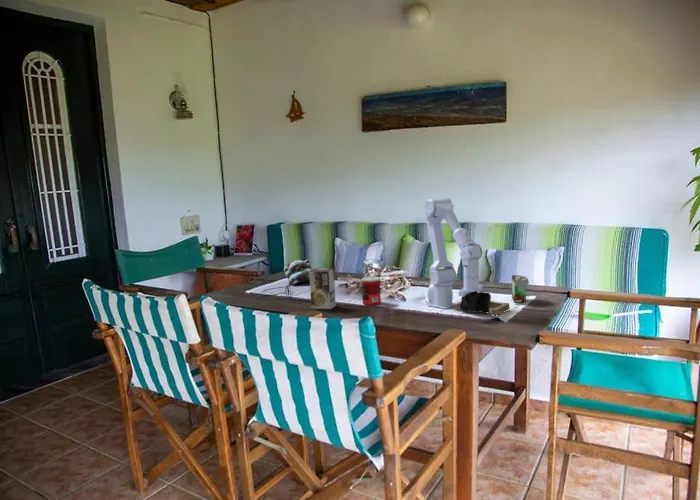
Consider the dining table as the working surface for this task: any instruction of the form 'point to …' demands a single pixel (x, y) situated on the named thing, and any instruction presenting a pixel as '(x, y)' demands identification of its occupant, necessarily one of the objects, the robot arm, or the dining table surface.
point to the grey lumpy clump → (298, 271)
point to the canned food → (371, 291)
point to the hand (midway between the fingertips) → (471, 311)
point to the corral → (497, 307)
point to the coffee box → (322, 288)
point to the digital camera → (479, 303)
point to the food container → (519, 288)
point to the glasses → (280, 293)
